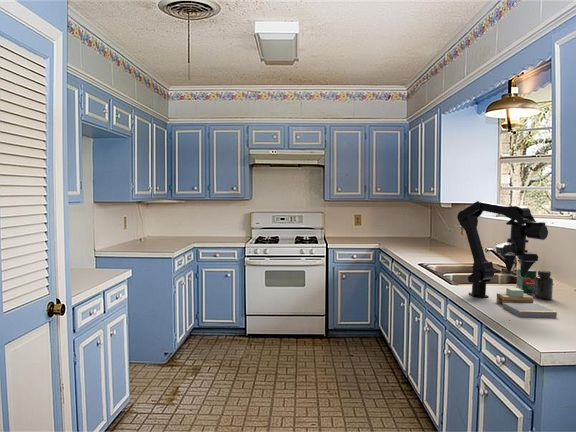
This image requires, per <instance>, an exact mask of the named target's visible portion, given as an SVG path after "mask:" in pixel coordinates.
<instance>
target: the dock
mask: <svg viewBox="0 0 576 432" xmlns="http://www.w3.org/2000/svg"><path fill="white" fill-rule="evenodd" d="M502 309H504V310H506V311H508V312H509V313H511V314H514V315H515V316H517V317H518V318H554V319H555V318H557V315H558V312H557V311H555V310H552V309H550V308H548V307H546V306H543V305H541V304H539V303H534V302H533V303H503V305H502Z"/></svg>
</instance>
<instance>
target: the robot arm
mask: <svg viewBox="0 0 576 432" xmlns="http://www.w3.org/2000/svg"><path fill="white" fill-rule="evenodd" d="M484 212H486V213H487V212H488V213H493V214H498V215H502V216H504V217H506V218H508V219H509V220H508V221H507V222H505V224H506V225H507V226H508V225H509V226H510V238H509V237H508V238H507V239H506V242H502V243H499V244H496V245H494V247H495V250H496V254H499V256H500V257H501V258H503V261H504V264H505V267H506V268H505V269H506V272H508V273H511V271H512V269H513V266H514V262H515V260H516V257H517V258H518V259H517V261H518V263H519V264H520V265H519V268H521V277H524V276H525V275H526V273H527V272H528V270H529V269H530V268H531V267H532V266H533V265H534V264H536V262H538V261H539V255H538V254H537V253H534V252H528V249H526V247H527V245H526V244H527V243H529V239H532V240H539V241H545V240H546V239H547V238H548V236H549V235H548V234H549V230H548V227H547V226H546V222H544V221H543V222H542V221H541V222H539V221H538V222H537V220H535V217H534V216H533V215H532V213H531V209H530V207H529V206H526V205H517V206H516V205H514V206H513V205H509V206H508V205H503V204H496V203H493V202H486V201H484V200H482V201H479V200H478V201H475V202H473V204H471V205H470V206H467V207H465V208H464V209H463V210H462V209H461V210H460V211H458V213H457V215H456V216H457V217H456V218H457V221H458V223H459V225H460V227H461V228H462V229H463V230H464V231H465V234H466V238H467V242H468V244H469V248H470V252H471V255H472V259H473V264H472V273H471V274H470V275H468V276H467V280H468V282H469V283H471V292H468V294H469V295H470V296H472V297H474V298H489V297H490V296H489V295H487V283H491V280H492V278H493V277H494V276H495V271H496V269H495V268H494V264H493V262H492V261H488V260H487V259H486V256H485V252H484V248H483V246H482V242H481V238H480V236H479V232H478V228H477V227H478V223H479V217H481V216H482V214H483V213H484ZM527 238H528V239H527Z"/></svg>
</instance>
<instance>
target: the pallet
mask: <svg viewBox="0 0 576 432" xmlns="http://www.w3.org/2000/svg"><path fill="white" fill-rule="evenodd" d="M496 303H498V304H502V305H501V306H503V303H534V297H533V296H531V295H530V294H523V297H522V296H510V295H508V294H506V292H505V293H504V292H499V293H498V292H497V293H496Z"/></svg>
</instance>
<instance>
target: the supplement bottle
mask: <svg viewBox="0 0 576 432" xmlns="http://www.w3.org/2000/svg"><path fill="white" fill-rule="evenodd" d="M551 273H552V272H551V271H549V270H537V276H536V278H535V294H534V298H536V299H538V300H546V301H548V300H549V301H550V300H552V299H553V291H554V290H553V289H554V279H553V278H552V277H551V276H552V275H551Z"/></svg>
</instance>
